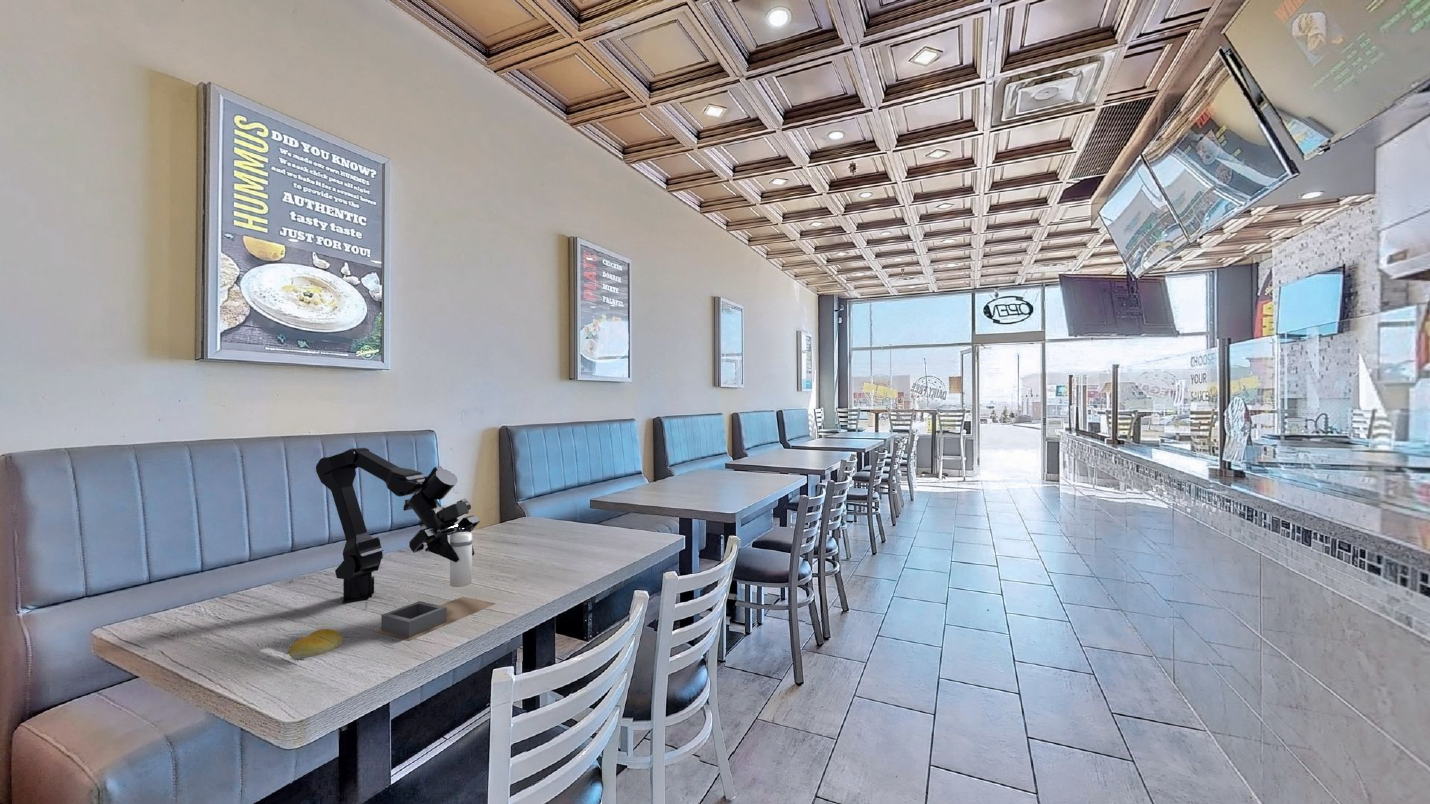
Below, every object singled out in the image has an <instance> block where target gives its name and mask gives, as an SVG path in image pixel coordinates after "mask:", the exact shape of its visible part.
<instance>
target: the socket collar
mask: <svg viewBox="0 0 1430 804" xmlns="http://www.w3.org/2000/svg"><path fill="white" fill-rule="evenodd" d="M446 622H447V607H443V606H439V604H438V605H437V604H434V603H430V602H425V601H421V600H419V601H416V602H414V603H409V604H408V605H404V606H402V607H399V608H397V609H394V610H391V611H389V612H386V613H382V614H381V620H380V624H381V625H380V628H381V630H382V631H386V632H389V633H393V634H397V635H400V636H404V637H408V638H410V637H413V636H415V635H417V634H420V633H422V632H424V631H427V630H429V629H431V628H434V627H436V626H439V625H441V624H443V623H446Z"/></svg>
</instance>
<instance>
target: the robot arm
mask: <svg viewBox="0 0 1430 804" xmlns="http://www.w3.org/2000/svg"><path fill="white" fill-rule="evenodd" d="M358 468H360V469H362V470H364V471H365V472H367V473H369V474H371V475H372V476H374V477H376V478H377V479H379V480H381V481H383V482H384V483H385V485H386V487H387V489H388V490H389V491H390V492H391V493H392V494H393V495H395V496H396V497H405V496H410V495H411V497H410V498H408V499H405V500H404V505H403V509H402V510H403V511H404V512H405V511H409V510H412V511H413V512H414V513H415V515H416V516H417V518H419V520H420V522H419V523H418V525H419V526H420V527H425V528H423V529H419V530H418V532H417V533H416V534H414V536H413V537H412V538H411V539H410V540H409V546H408V547H409V548H410V550H411V551H412V553H413V554H414V553H415V554H416V553H417V552H421V551H423V550H424V551H425V552H429V553H432V554H435V555H437V556H440V557H443V558H445V559H447V560H449V561H450V560H451V561H454V562H458V561H459V558H458V556H457V554H456V552H455V551H454V549H453V548H452V546H451V545H450V541H449V539H448V537H449V536H450V535H451V534H453V533H457V532H471V533H472V532H473V530H474V529H475V528H476V527H477V526H478V525H479V524H480V522H481V520H480V518H478V516H477V515H469V516H466V517H465V516H464V517H462V518H461V519H460V518H459V517H461V516H463V515H467V514H470V510H471V509H472V505H471V503H470V502H469V500H467V499H466V498H462V499H460V500H457V501H456V502H455V503H452V504H451V505H450V504H449V505H442V504H441V503H440V502H439V501H438V500H443V499H445V497H446V496H447V495H448V494H449V492H450V491H451V490H452V489H453V488H454V487H455V486H456V485H457V483H458V478H457V476H456V475H455V474H454V473H453V472H452V471H449V470H447V469H444V468H443V467H442V466H441V465H439V466H435V467H433V468H432V469H431V472H430V473H429V474H428V475H427V476H426V475H424V473H422V472H421V471H418V470H416V469H411V468H404V467H400V466H398V465H395V464H394V463H392V462H390V461H388V460H386V459H385V458H383V457H381V456H379V455H378V454H376V453H374V452H372V451H371V450H370V449H369V448H366V447H355V448H353V447H352V448H350V449H347V450H345V451H343V452H340V453H337V454H334V455H331V456H326V457H325V456H323V457H321V458H320V459H319V460H318V462H317V463H316V465H315V472H316V474H317V477H318V478H319V481H320V483H321V484H322V485H324V486H325V487H326V488H327V489H329V490H330V492H331V495H332V498H333V501H334V504H335V507H336V511H337V514H338V517H339V518H338V519H339V521H340V525H341V527H342V532H343V533H344V538H345V544H344V547H343V551H342V556H343V561H342V562H341V563H340V564H339V566H337V568H335V570H334V572H335V577H336V579H339V580H343V584H342V585H343V587H342V589H343V591H342V592H343V596H342V601H341V602H342V603H348V602H349V603H350V602H356V601H362V600H368V599H372V598H373V595H374V594H375V576H374V575H373V574H372V573H374V572H377V571H379V569H380V565H381V563H382V562H381V561H382V559H383V558H384V555H383V551H384V548H383V547H382V545H381V540H380V538H379V537H378V536H375V537H372V536H371V535H370V534H369V532H368V530H367V527H366V524H365V521H364V517H363V514H362V510H361V508H360V507H361V506H360V503H359V501H358V498H357V495H356V491H355V488H354V482H355V478H356V476H357V471H356V470H357V469H358ZM458 521H459V522H458ZM457 522H458V523H457ZM456 523H457V524H456ZM424 544H426V546H427V547H426V548H425V549H424V547H425V545H424ZM474 555H475V550H474V546H473V545H472V557H473V556H474Z"/></svg>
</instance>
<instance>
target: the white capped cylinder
mask: <svg viewBox="0 0 1430 804" xmlns="http://www.w3.org/2000/svg"><path fill="white" fill-rule="evenodd" d="M449 536H450V539H449V544H450V545H451V546H452V548H453V549H454V551H455V552H456V554H457V556H458V558H459V561H458V562H454V561H451V560H449V587H452V588H461V587H462V588H463V587H466V586H470V585H471V584H472V579H473V577H472V575H473V573H472V572H473V570H472V569H473V556H472V546H473V533H472V531H471V532H457V533H453V534H451V535H449Z"/></svg>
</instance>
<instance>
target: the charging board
mask: <svg viewBox="0 0 1430 804" xmlns="http://www.w3.org/2000/svg"><path fill="white" fill-rule="evenodd" d="M496 604H497V603H496V602H490V601H487V600H482V599H481V600H480V599H477V598H472V597H467V596H460V597H457V598H455V599H453V600H450V601H447V602H445V603H443V604H440V605H439V604H438V605H439V606H443V607H447V622H446V623H443V624H441V625H439V626H436V627H434V628H431V629H429V630H427V631H424V632H422V633H420V634H417V635H415V636H413V637H410V638H408V637H404V636H400V635H397V634H393V633H389V632H386V631H382V630H381V627H380V628H378V629H374V630H373V632H375V633H379V634H382V635H386V636H389V637H393V638H396V639H400V640H404V641H407V642H410V641H412V640H413V641H414V640H415V639H417V638H419V637H422V636H424V635H426V634H428V633H430V632H431V633H432V632H433V631H436V630H438V629H440V628H443V627H444V626H448V625H450V624H453V623H454V622H457V621H459V620H461V619H464V618H465V617H468V616H471V615H473V614H475V613H477V612H480V611H482V610H484V609H487V608H489V607H492V606H494V605H496Z"/></svg>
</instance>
